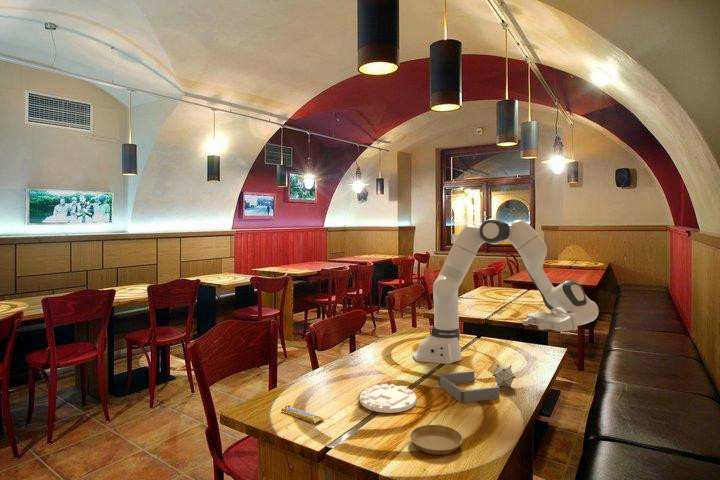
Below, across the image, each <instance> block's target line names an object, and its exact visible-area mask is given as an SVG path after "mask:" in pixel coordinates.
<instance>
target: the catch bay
mask: <svg viewBox="0 0 720 480" xmlns="http://www.w3.org/2000/svg"><path fill="white" fill-rule="evenodd" d="M475 374H476V373H475V370H468V371H467V370H465V371H459V372H458V371H457V372H450V373H448V372H447V373H440V374H439V373H438V385H439V386H440V387H441V388H442V389H444V390H445V391H446V392H447V393H449V394H450V395H451V396H452V397H453V398H455V399H456V401H458V402H460V403H461V404H466V403H473V402H480V401H487V400H489V401H490V400H493V399H494V400H495V399H500V386H499V385H498V386H497V385H496V386H494V385H493V386H488V387H480V388H471V389H465V390H463V389H461V388H460V387H459V386H457V385H456V384H464V383H472V382H475V381H476V380H475V379H476V377H475Z"/></svg>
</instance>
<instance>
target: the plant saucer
mask: <svg viewBox="0 0 720 480" xmlns="http://www.w3.org/2000/svg"><path fill="white" fill-rule="evenodd" d="M409 437H410V440H411V442H412V443H413V444H414V445H415V446H416V447H417V448H418V449H419V450H420V451H422V452H424V453H427V454H431V455H438V456H441V455H442V456H443V455H449V454H450V453H453V452H454V451H456V450H457V449H458V448H459V447H460V446H461V444H462V443H463V440H464V439H463V435H462V434H461V433H460V432H459V431H458V430H456V429H454V428H452V427H449V426H445V425H440V424H425V425H421V426H417V427H415V428H413V429H412V431H411V432H410V434H409Z"/></svg>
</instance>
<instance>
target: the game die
mask: <svg viewBox="0 0 720 480" xmlns="http://www.w3.org/2000/svg"><path fill="white" fill-rule="evenodd" d="M496 366H497V368H496V370H495V372H494V374H492V377H494V379H495V381H496V383H497V385H496V386H498V387H500V386H501V387H509V388H510V389H512V383H513V382H514V379H516V378H517V377H516V376H515V375H514V373H513V371H512V369H511V368H512V365H510V366H503V365H502V366H501V365H500V366H499V364H496Z"/></svg>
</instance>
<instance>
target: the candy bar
mask: <svg viewBox="0 0 720 480" xmlns="http://www.w3.org/2000/svg"><path fill="white" fill-rule="evenodd" d="M287 407H288V408H287ZM282 411H284V412H287V413H290V414H293V415H295V416H298V417H300V418H303V419H305V420H307V421H306V422H308V421H310V422H309V423H311V422H312V423H311V424H317V423H319V422H320V421H323V420H324V418H323V417H321V416H319V415H317V414H313V413H311V412H307V411H304V410H301V409H298V408H295V407H292V406H291V405H290V404H289V405H286V406H284V407H282V408H281V412H282ZM284 412H283V413H284ZM300 418H299V419H300ZM305 420H304V421H305Z"/></svg>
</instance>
